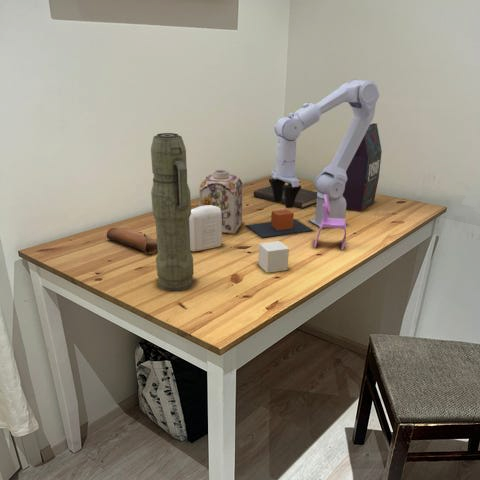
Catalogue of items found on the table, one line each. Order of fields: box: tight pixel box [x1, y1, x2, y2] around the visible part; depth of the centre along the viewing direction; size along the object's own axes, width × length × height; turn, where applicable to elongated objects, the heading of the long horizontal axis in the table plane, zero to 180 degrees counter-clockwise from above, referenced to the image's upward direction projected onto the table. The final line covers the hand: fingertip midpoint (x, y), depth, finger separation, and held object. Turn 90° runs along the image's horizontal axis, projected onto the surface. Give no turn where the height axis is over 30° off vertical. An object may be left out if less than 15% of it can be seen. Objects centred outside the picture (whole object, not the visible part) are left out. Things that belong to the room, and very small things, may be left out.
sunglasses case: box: [106, 227, 158, 255], centre depth 143 cm, size 18×7×7 cm, turn 51°
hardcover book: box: [253, 185, 317, 209], centre depth 188 cm, size 16×23×2 cm
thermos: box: [150, 132, 195, 292], centre depth 112 cm, size 9×12×35 cm
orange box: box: [270, 208, 295, 230], centre depth 156 cm, size 6×5×5 cm
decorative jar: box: [198, 169, 243, 235], centre depth 153 cm, size 12×12×18 cm
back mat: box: [246, 218, 313, 239], centre depth 157 cm, size 18×12×1 cm, turn 113°
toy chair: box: [314, 194, 347, 251], centre depth 141 cm, size 8×9×15 cm
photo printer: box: [189, 205, 223, 252], centre depth 139 cm, size 10×4×12 cm, turn 123°
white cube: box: [257, 240, 290, 274], centre depth 129 cm, size 6×6×6 cm
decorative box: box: [342, 122, 383, 212], centre depth 175 cm, size 8×16×28 cm, turn 148°
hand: (283, 204), depth 154 cm, fingers open, 7 cm apart
